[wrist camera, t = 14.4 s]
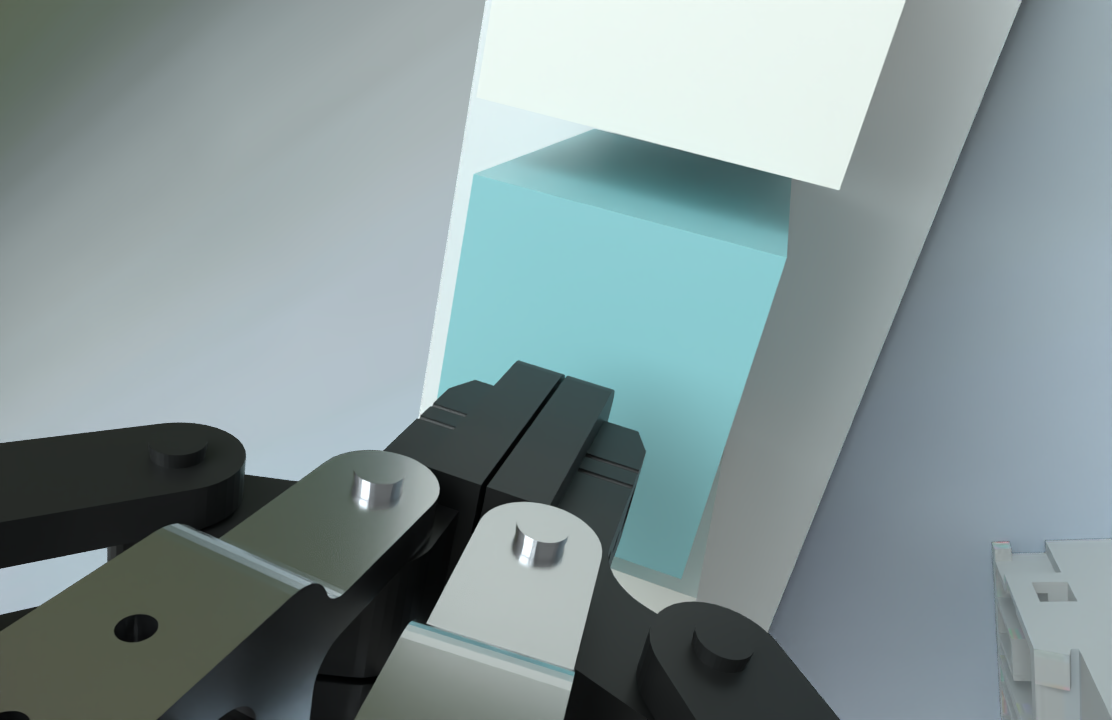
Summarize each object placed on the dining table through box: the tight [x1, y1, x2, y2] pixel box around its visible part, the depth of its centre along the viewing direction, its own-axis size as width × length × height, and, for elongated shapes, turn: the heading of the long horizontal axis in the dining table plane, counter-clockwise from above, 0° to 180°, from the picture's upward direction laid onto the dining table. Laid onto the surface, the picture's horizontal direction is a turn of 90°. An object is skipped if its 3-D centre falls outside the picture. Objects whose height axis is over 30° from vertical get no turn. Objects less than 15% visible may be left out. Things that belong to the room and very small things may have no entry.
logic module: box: [437, 129, 792, 579], centre depth 18 cm, size 6×5×8 cm
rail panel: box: [419, 0, 1022, 633], centre depth 19 cm, size 26×12×9 cm, turn 168°
